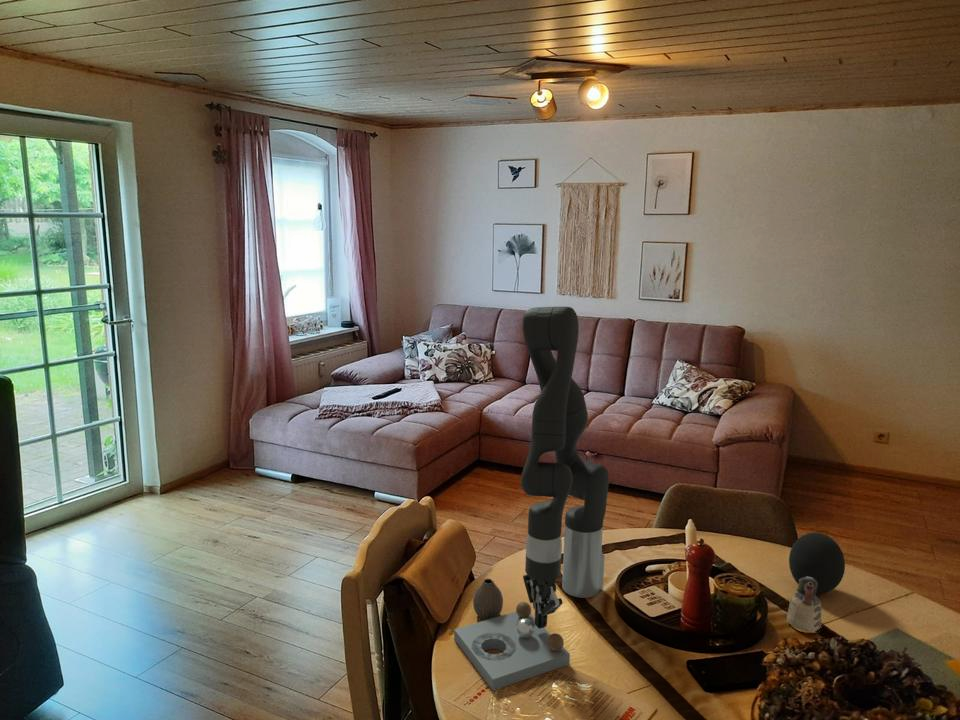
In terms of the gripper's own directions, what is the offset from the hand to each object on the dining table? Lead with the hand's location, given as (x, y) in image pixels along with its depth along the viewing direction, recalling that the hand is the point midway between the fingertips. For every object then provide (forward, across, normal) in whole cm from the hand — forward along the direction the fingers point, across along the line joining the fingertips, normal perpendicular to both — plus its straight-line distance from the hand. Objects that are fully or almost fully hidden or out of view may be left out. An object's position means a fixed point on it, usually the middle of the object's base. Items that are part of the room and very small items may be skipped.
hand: (540, 625), depth 146 cm
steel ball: (-1, 0, +4) cm, 4 cm away
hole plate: (+4, 0, +8) cm, 8 cm away
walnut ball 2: (0, -7, 0) cm, 7 cm away
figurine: (+4, -20, -58) cm, 61 cm away
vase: (+4, +14, +6) cm, 15 cm away
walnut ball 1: (0, +6, +1) cm, 6 cm away
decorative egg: (+3, -11, -73) cm, 74 cm away
